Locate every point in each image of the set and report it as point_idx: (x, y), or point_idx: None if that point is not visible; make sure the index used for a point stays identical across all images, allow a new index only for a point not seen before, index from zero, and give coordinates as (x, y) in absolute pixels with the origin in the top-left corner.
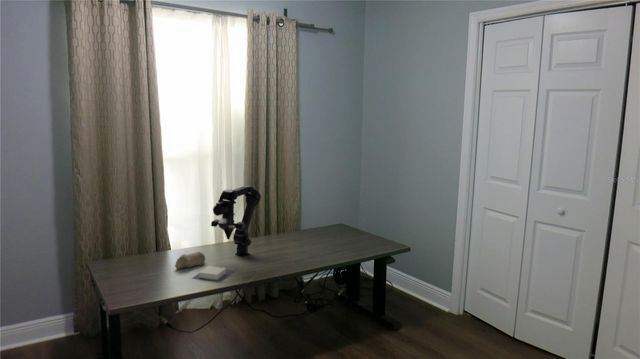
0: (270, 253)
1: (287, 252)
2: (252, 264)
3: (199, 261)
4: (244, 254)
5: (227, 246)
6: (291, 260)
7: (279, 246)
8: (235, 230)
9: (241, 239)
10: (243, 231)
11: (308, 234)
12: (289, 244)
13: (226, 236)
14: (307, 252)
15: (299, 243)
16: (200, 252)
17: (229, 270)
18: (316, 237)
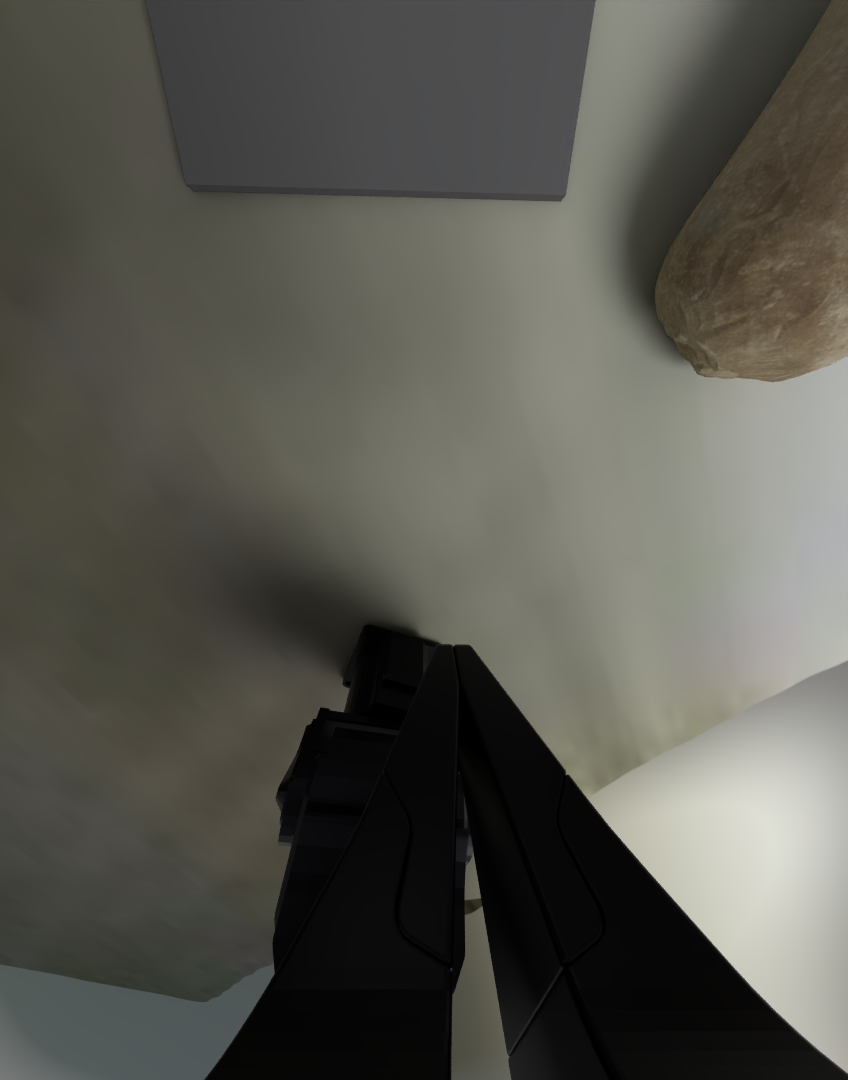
0: (229, 724)
1: (149, 761)
2: (188, 488)
3: (747, 140)
4: (363, 652)
5: (551, 750)
6: (5, 659)
7: (257, 815)
8: (457, 951)
9: (334, 770)
10: (285, 952)
11: (236, 933)
12: (228, 844)
13: (499, 691)
14: (50, 787)
15: (193, 862)
16: (845, 271)
17: (255, 149)
18: (180, 919)
